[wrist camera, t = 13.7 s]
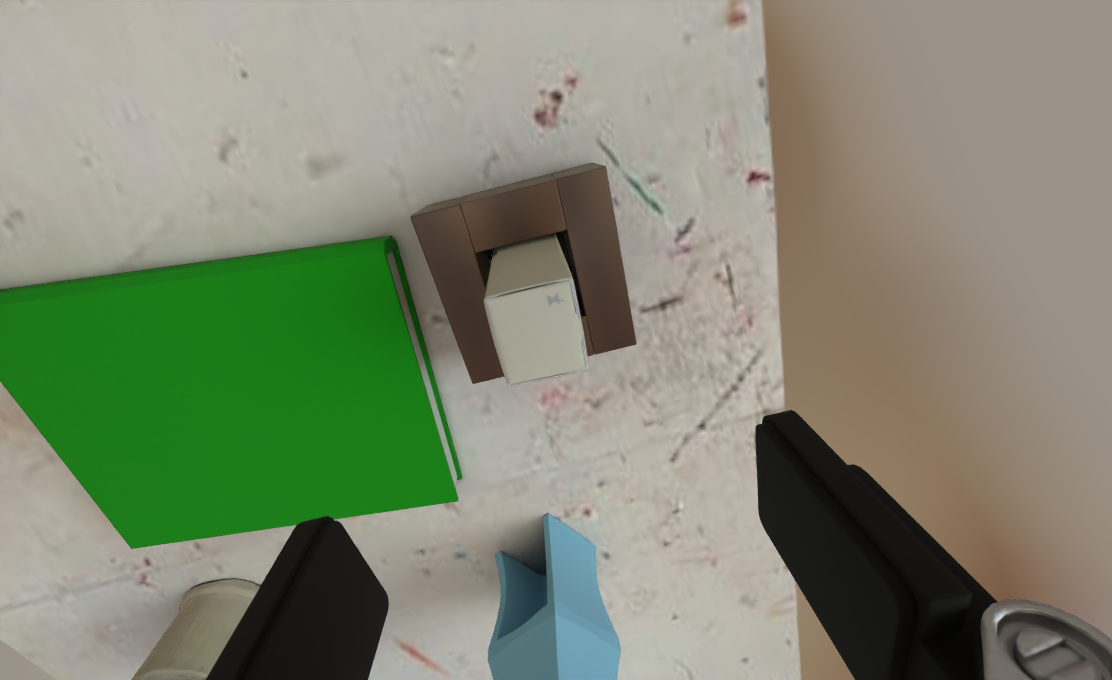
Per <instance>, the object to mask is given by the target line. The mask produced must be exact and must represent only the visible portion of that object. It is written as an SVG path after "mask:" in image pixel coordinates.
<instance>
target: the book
mask: <svg viewBox="0 0 1112 680" xmlns="http://www.w3.org/2000/svg"><path fill="white" fill-rule="evenodd" d="M0 381H1V383H2V384H3V385H4V387H5V388H6V389H7V390H8V392H9V393H10V394H11V396H12V397H13V398H14V399H15V401H16V402H17V403H18V404H19V406H20V407H21V408H22V410H23V411H24V412H25V413H26V415H27V416H28V417H29V419H30V420H31V421H32V422H33V424H34V425H35V426H36V427H37V429H38V430H39V431H40V433H41V434H42V435H43V436H44V438H45V439H46V440H47V441H48V443H49V444H50V445H51V447H52V448H53V449H54V450H55V452H56V453H57V454H58V456H59V457H60V458H61V459H62V461H63V462H64V463H65V464H66V466H67V467H68V468H69V470H70V471H71V472H72V473H73V475H74V476H75V477H76V479H77V480H78V481H79V482H80V484H81V485H82V486H83V487H84V489H85V490H86V491H87V493H88V494H89V495H90V496H91V498H92V499H93V500H94V502H95V503H96V504H97V505H98V507H99V508H100V509H101V510H102V512H103V513H104V514H105V516H106V517H107V518H108V519H109V521H110V522H111V523H112V524H113V526H114V527H115V528H116V530H117V531H118V532H119V533H120V535H121V536H122V537H123V539H124V540H125V541H126V542H127V544H128V545H129V546H130V547H131V549H133V548H140V547H147V546H154V545H161V544H168V543H175V542H181V541H188V540H195V539H202V538H209V537H216V536H223V535H229V534H236V533H243V532H250V531H257V530H264V529H271V528H278V527H284V526H291V525H298V524H299V523H301V522H303V521H307V520H311V519H316V518H320V517H325V516H329V517H331V518H332V519H339V518H346V517H353V516H360V515H367V514H374V513H381V512H387V511H394V510H401V509H408V508H415V507H422V506H429V505H436V504H442V503H449V502H456V501H458V496H457V492H456V489H455V487H456V482H457V480H460V479H462V474H461V471H460V467H459V463H458V460H457V456H456V453H455V449H454V446H453V442H452V439H451V435H450V431H449V428H448V424H447V421H446V417H445V414H444V410H443V407H442V403H441V399H440V396H439V392H438V389H437V385H436V382H435V378H434V374H433V371H432V367H431V364H430V360H429V357H428V353H427V350H426V346H425V342H424V339H423V335H422V332H421V328H420V325H419V321H418V318H417V314H416V310H415V307H414V303H413V300H412V296H411V293H410V289H409V286H408V282H407V278H406V275H405V271H404V268H403V264H402V261H401V257H400V253H399V250H398V246H397V243H396V241H395V240H394V239H393V238H392V236H388V237H381V238H373V239H366V240H359V241H352V242H344V243H337V244H330V245H323V246H315V247H308V248H301V249H293V250H286V251H279V252H272V253H264V254H257V255H250V256H243V257H235V258H228V259H221V260H214V261H206V262H199V263H192V264H184V265H177V266H170V267H163V268H155V269H148V270H141V271H134V272H126V273H119V274H112V275H105V276H97V277H90V278H83V279H75V280H68V281H61V282H54V283H46V284H39V285H32V286H25V287H17V288H10V289H3V290H0Z"/></svg>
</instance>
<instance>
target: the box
mask: <svg viewBox="0 0 1112 680" xmlns="http://www.w3.org/2000/svg"><path fill="white" fill-rule="evenodd" d="M484 304H485V309H486V313H487V317H488V321H489V325H490V329H491V333H492V336H493V340H494V344H495V347H496V350H497V354H498V357H499V360H500V363H501V366H502V370H503V373H504V375H505V378H506V381H507V384H508V385H510V386H513V385H517V384H522V383H527V382H533V381H539V380H544V379H550V378H555V377H560V376H565V375H569V374H574V373H579V372H583V371H586V370H587V369H588V366H589V364H588V356H587V350H586V343H585V337H584V331H583V326H582V321H581V315H580V310H579V305H578V300H577V295H576V290H575V286H574V281H573V278H572V275H571V272H570V270H569V267H568V264H567V262H566V259H565V257H564V254H563V252H562V249H561V247H560V244H559V242H558V239H557V236H556V234H555V233H553V234H549V235H545V236H541V237H537V238H534V239H530V240H526V241H522V242H518V243H514V244H510V245H506V246H502V247H498V248H494V250H493V256H492V261H491V266H490V272H489V277H488V282H487V288H486V293H485V298H484Z"/></svg>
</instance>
